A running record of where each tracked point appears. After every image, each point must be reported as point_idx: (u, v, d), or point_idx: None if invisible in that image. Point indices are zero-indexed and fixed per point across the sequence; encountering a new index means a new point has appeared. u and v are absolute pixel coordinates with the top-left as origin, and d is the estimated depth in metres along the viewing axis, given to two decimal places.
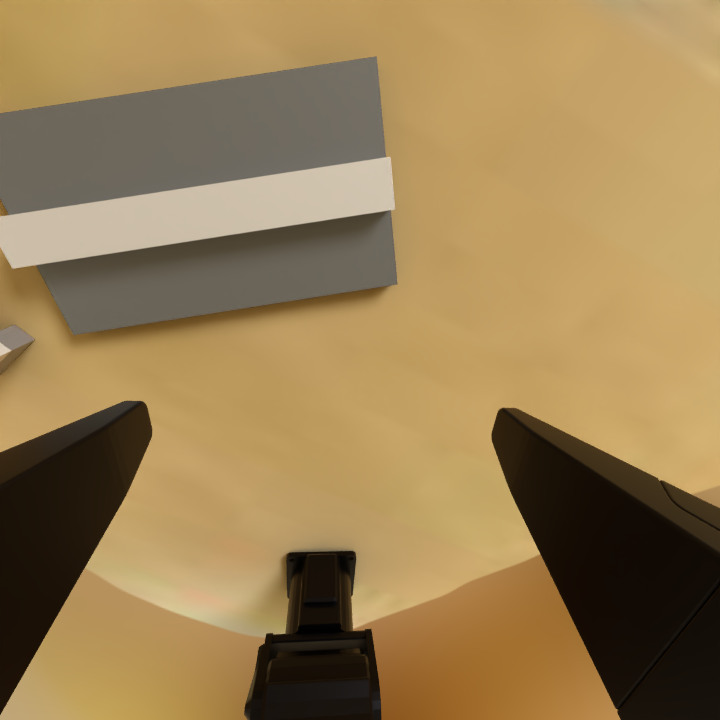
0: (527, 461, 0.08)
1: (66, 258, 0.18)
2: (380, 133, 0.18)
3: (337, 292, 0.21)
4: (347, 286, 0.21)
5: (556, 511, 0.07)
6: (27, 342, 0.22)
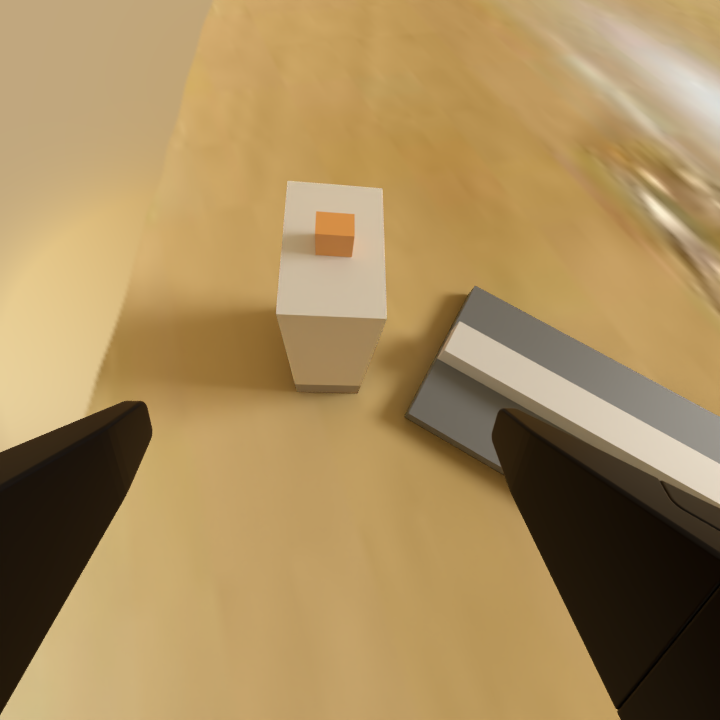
0: (527, 461, 0.08)
1: (485, 371, 0.21)
2: None
3: None
4: None
5: (556, 511, 0.07)
6: (358, 390, 0.22)
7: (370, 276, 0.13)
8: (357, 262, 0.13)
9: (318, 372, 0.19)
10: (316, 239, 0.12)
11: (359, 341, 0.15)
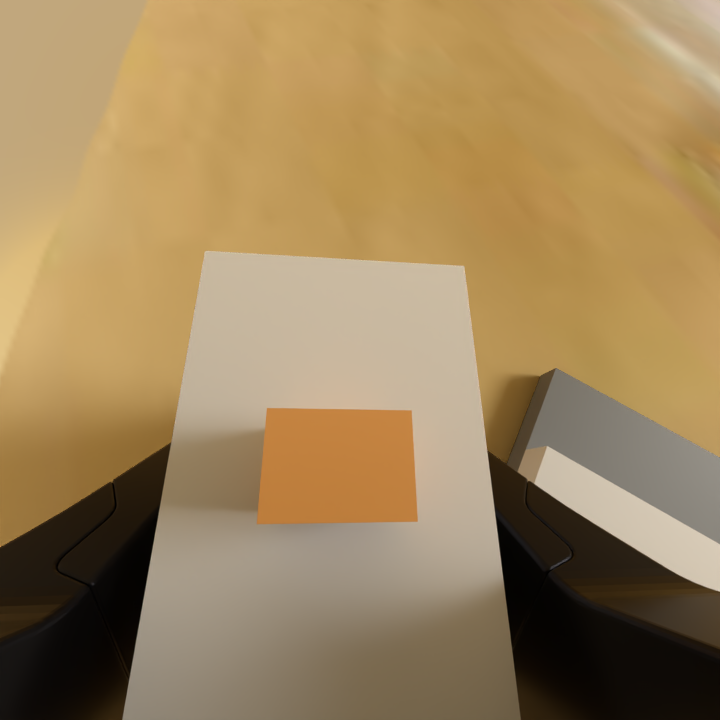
0: None
1: None
2: None
3: None
4: None
5: None
6: None
7: (456, 589, 0.04)
8: (412, 532, 0.04)
9: None
10: None
11: None
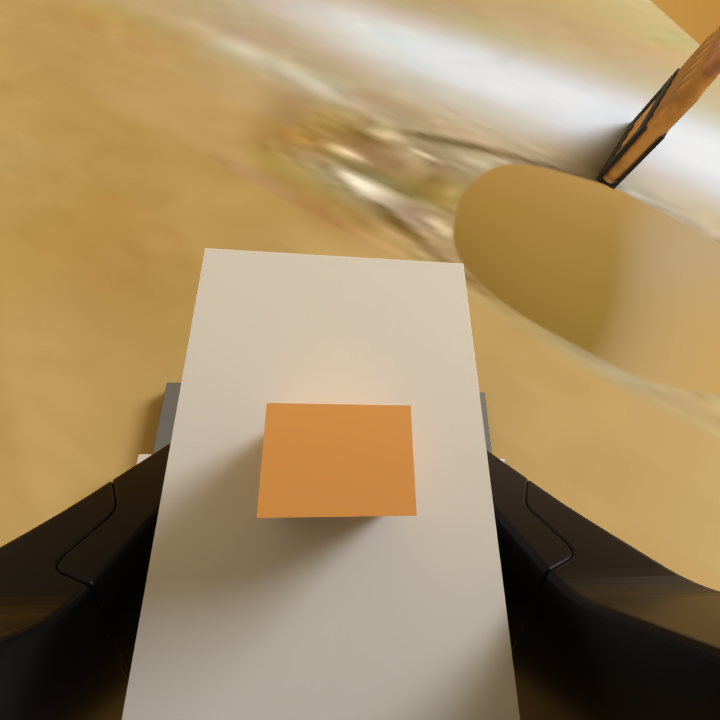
0: None
1: None
2: (487, 440, 0.22)
3: None
4: None
5: None
6: None
7: (455, 584, 0.04)
8: (410, 527, 0.04)
9: None
10: None
11: None
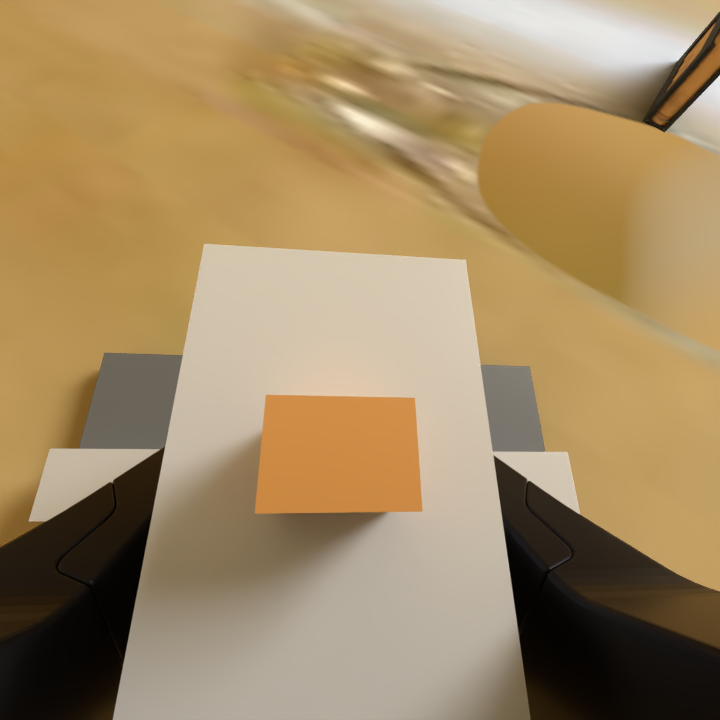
0: None
1: None
2: (537, 428, 0.16)
3: None
4: None
5: None
6: None
7: (462, 587, 0.04)
8: (415, 527, 0.04)
9: None
10: None
11: None
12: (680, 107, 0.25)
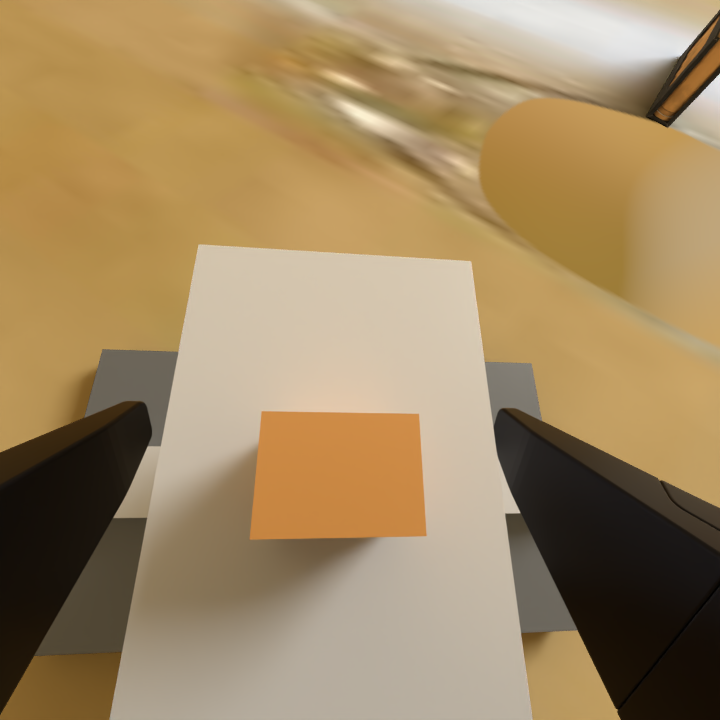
0: (527, 461, 0.08)
1: (116, 515, 0.12)
2: None
3: None
4: None
5: (556, 511, 0.07)
6: None
7: (467, 606, 0.04)
8: (417, 544, 0.04)
9: None
10: None
11: None
12: (683, 102, 0.25)
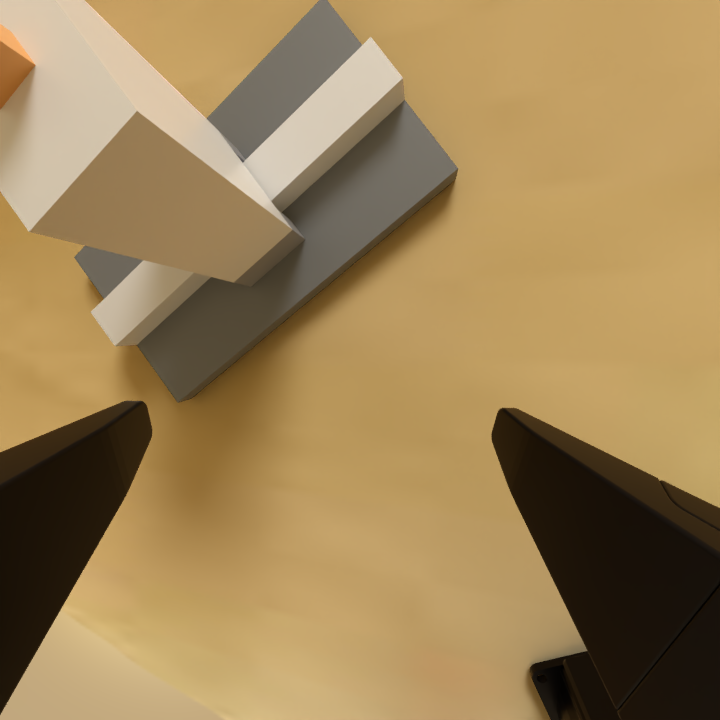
0: (527, 461, 0.08)
1: (147, 313, 0.19)
2: (358, 46, 0.17)
3: (395, 218, 0.17)
4: (402, 205, 0.17)
5: (556, 511, 0.07)
6: (300, 236, 0.18)
7: (75, 68, 0.08)
8: (47, 65, 0.08)
9: (225, 253, 0.15)
10: None
11: (181, 178, 0.10)
12: None
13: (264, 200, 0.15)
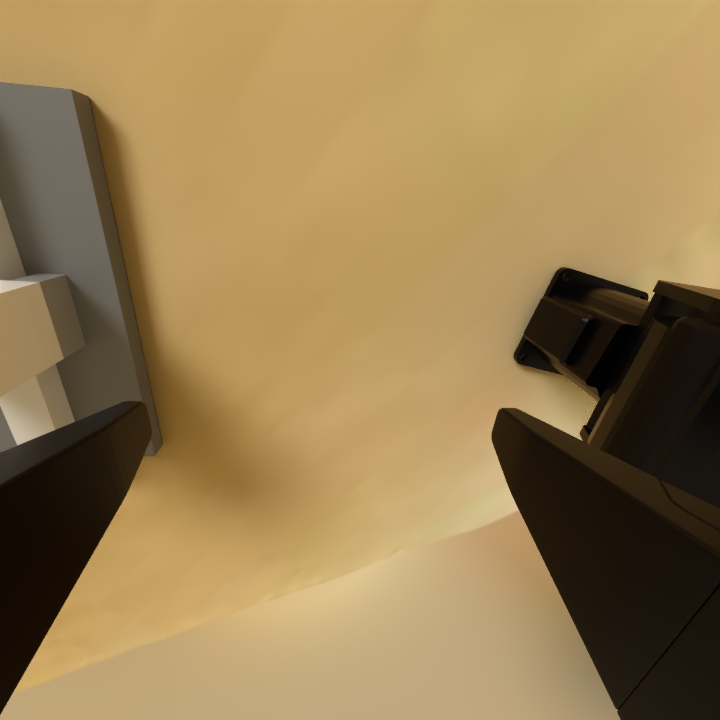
0: (527, 461, 0.08)
1: None
2: None
3: (91, 185, 0.16)
4: (81, 170, 0.16)
5: (556, 511, 0.07)
6: (57, 277, 0.17)
7: None
8: None
9: (14, 353, 0.15)
10: None
11: None
12: None
13: None
